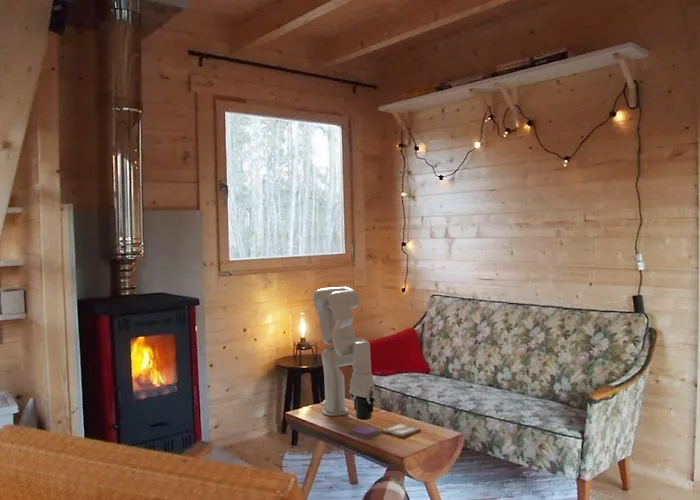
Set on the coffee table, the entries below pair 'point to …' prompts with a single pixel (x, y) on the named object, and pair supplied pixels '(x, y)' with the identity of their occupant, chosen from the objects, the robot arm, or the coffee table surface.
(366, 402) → the supplement bottle
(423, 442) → the coffee table surface
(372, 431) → the ink pad
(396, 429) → the white square tile
